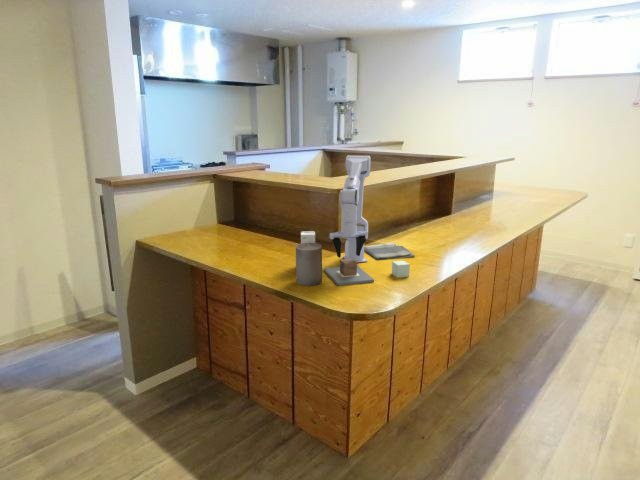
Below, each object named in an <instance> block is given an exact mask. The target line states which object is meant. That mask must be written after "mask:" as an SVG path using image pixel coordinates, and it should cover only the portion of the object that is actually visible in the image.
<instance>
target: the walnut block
mask: <svg viewBox="0 0 640 480" xmlns="http://www.w3.org/2000/svg"><path fill="white" fill-rule="evenodd" d="M357 266H358V262H356V261H355V260H353V259H345V258H343V259H340V260H339V267H340V273H341V274H343V275H344V276H351V275H357Z"/></svg>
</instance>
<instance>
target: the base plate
mask: <svg viewBox="0 0 640 480" xmlns="http://www.w3.org/2000/svg"><path fill="white" fill-rule="evenodd" d="M323 271H324V272H325V274H327V276H329V278H330V279H331V280H332V281H333V282H334V283H335V285H336V286H346V285H347V286H349V285H357V284H369V283H374V282H375V279H374V278H373V277H372V276H370V275H369V274H368V273H367V272H366V271H364V270H363V269H362V268H361V267H360V266H359V265H357V275H351V276H344V275H343V274H341V273H340V266H333V267H324V268H323Z"/></svg>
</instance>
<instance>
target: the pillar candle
mask: <svg viewBox="0 0 640 480" xmlns="http://www.w3.org/2000/svg"><path fill="white" fill-rule="evenodd" d="M295 274H296V275H295V279H296V284H298V285H302V286H304V287H305V286H306V287H311V286H317V285H320V284H321V283H322V282H323V248H322V244H319V243H317V242H315V243H302V244H301V243H299V244H298V243H297V244H296V245H295Z"/></svg>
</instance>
